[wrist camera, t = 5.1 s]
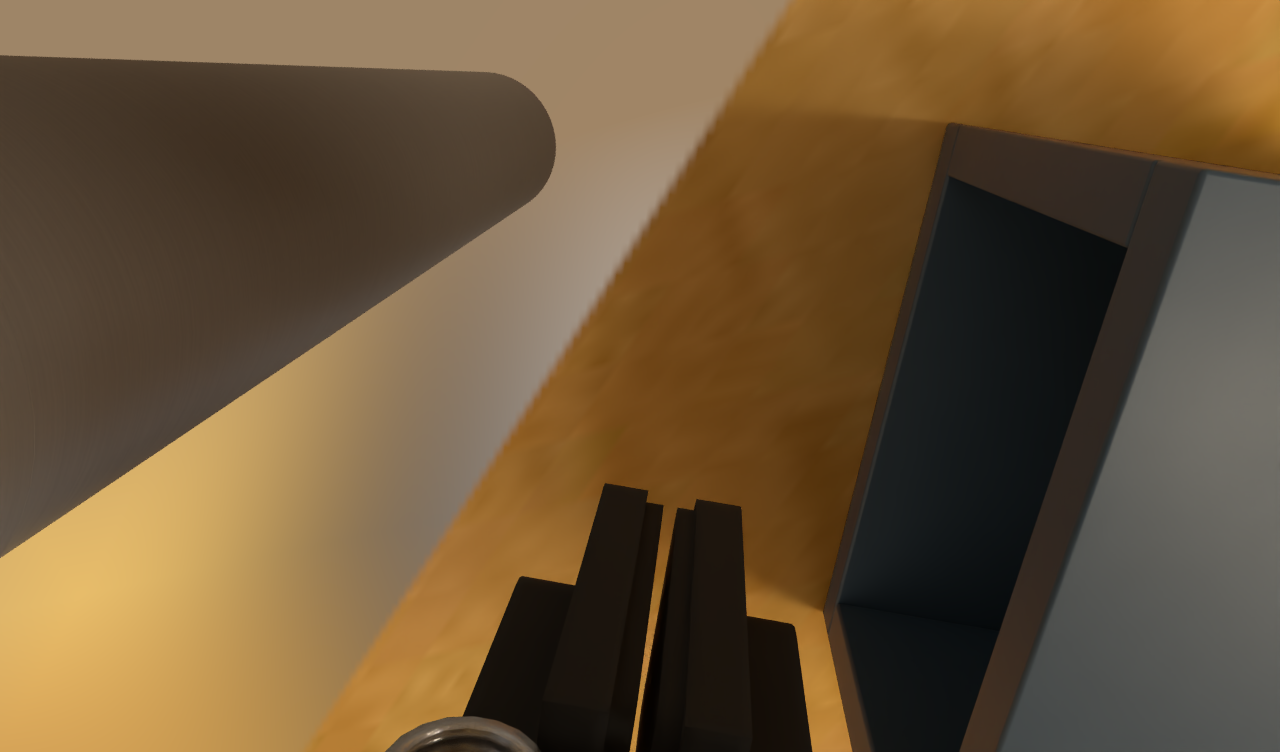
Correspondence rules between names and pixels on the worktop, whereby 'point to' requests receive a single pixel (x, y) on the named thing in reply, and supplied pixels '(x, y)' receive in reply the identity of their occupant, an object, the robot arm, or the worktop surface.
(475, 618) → the worktop surface
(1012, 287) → the grey open box
